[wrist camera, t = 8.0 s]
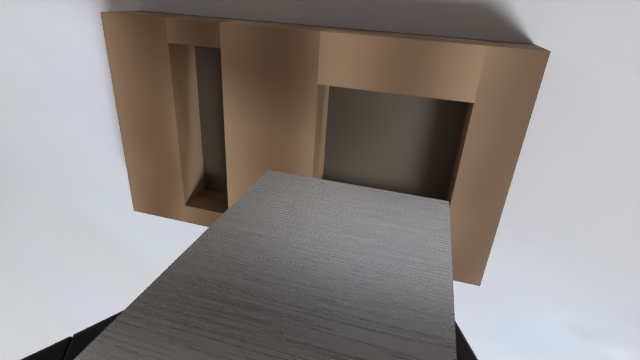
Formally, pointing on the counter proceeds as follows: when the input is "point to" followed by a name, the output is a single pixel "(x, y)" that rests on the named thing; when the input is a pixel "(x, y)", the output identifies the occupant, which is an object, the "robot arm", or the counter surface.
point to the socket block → (319, 115)
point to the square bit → (301, 281)
